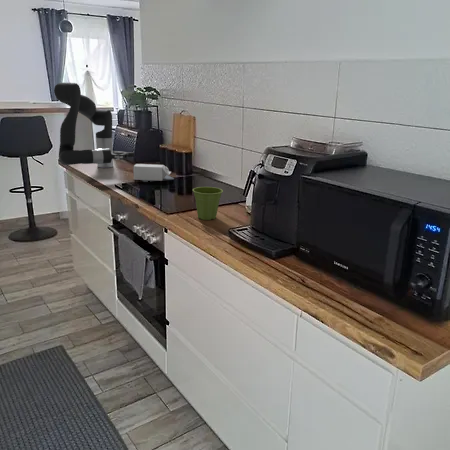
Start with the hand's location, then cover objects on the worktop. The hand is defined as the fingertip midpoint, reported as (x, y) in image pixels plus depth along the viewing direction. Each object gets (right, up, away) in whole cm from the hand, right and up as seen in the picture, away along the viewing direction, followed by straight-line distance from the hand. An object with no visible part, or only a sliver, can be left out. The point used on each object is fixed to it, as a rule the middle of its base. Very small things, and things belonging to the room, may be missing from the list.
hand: (134, 154), depth 232 cm
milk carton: (0, -9, +2) cm, 9 cm away
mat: (+9, -11, +8) cm, 17 cm away
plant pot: (+41, -34, -57) cm, 78 cm away
